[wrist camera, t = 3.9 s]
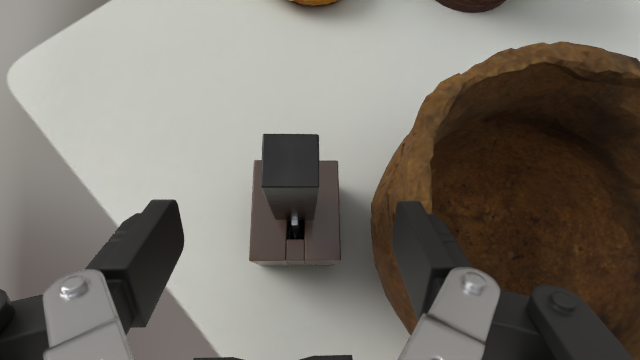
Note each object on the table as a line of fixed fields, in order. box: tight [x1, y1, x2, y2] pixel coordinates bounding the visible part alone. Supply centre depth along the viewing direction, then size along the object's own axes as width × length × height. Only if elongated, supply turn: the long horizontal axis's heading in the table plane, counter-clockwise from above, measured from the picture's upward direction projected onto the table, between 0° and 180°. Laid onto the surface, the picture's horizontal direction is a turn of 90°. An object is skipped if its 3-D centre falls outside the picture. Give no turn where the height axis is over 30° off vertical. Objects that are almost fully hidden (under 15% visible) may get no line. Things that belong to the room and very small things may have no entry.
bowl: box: [371, 42, 640, 360], centre depth 22 cm, size 19×19×15 cm
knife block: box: [249, 160, 341, 266], centre depth 26 cm, size 6×7×6 cm
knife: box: [261, 134, 319, 239], centre depth 22 cm, size 2×3×16 cm
